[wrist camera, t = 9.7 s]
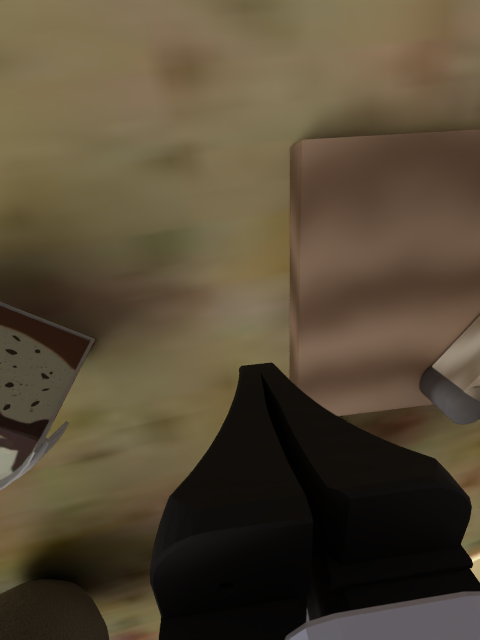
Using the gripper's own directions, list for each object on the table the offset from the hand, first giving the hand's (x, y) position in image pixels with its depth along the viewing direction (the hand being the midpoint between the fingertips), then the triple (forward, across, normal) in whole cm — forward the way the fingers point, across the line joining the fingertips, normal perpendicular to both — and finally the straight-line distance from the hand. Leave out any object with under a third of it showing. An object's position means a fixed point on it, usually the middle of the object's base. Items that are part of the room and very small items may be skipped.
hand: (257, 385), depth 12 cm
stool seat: (+10, -15, 0) cm, 18 cm away
